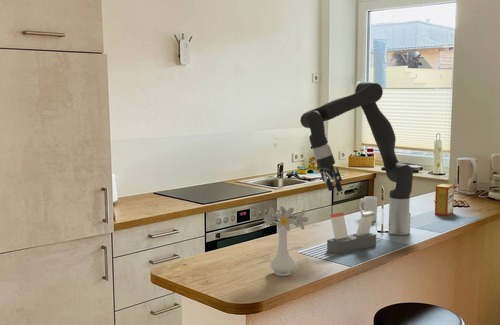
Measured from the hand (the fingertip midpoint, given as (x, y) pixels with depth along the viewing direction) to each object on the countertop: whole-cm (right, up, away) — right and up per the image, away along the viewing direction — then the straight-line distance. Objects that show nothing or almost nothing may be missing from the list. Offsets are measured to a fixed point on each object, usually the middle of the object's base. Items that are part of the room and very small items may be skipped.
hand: (335, 190), depth 246 cm
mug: (+24, -18, +51) cm, 59 cm away
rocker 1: (+2, -20, -6) cm, 21 cm away
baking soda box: (+68, -16, +63) cm, 95 cm away
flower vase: (-25, -29, -34) cm, 51 cm away
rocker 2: (+12, -19, +1) cm, 23 cm away
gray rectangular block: (+7, -25, -2) cm, 26 cm away
